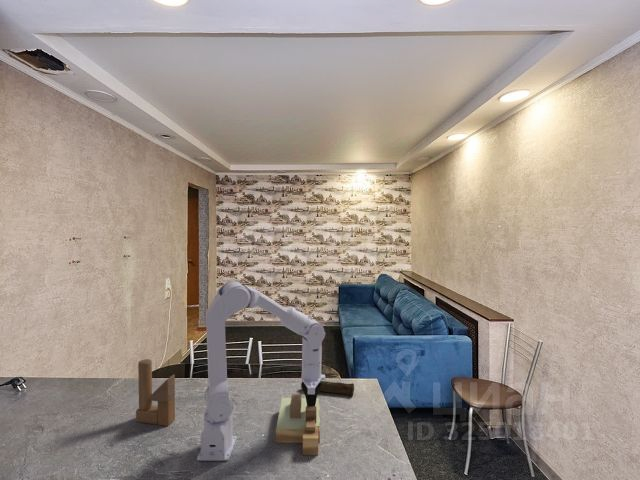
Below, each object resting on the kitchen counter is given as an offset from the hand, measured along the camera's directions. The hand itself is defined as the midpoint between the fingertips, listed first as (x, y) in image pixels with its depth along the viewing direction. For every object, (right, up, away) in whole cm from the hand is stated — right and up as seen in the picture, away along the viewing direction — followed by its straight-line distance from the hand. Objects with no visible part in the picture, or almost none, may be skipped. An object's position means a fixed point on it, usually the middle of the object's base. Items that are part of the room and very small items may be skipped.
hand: (311, 406), depth 103 cm
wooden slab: (-4, -6, -2) cm, 7 cm away
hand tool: (+5, -5, +20) cm, 22 cm away
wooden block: (-47, -5, +2) cm, 47 cm away
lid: (-3, -2, 0) cm, 4 cm away
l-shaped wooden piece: (0, -2, -7) cm, 7 cm away
